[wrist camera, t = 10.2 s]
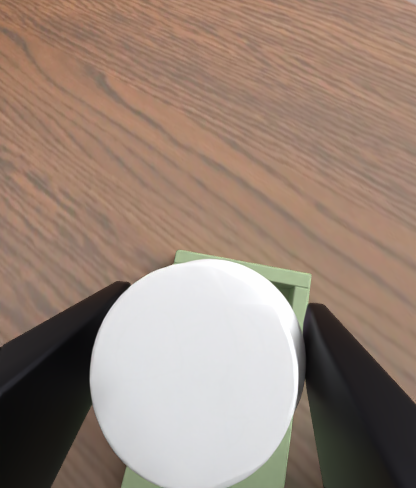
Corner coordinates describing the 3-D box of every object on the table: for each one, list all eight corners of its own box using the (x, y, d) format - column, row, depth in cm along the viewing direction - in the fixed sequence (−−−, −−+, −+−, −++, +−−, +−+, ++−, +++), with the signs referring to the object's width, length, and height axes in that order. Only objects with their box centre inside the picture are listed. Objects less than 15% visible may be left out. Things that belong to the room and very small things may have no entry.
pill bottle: (245, 267, 15) (246, 184, 6) (299, 362, 14) (416, 452, 4) (158, 313, 15) (21, 303, 6) (202, 415, 14) (109, 619, 4)
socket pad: (261, 630, 15) (268, 761, 10) (106, 565, 16) (56, 656, 12) (308, 275, 19) (327, 263, 14) (181, 252, 20) (164, 235, 16)
